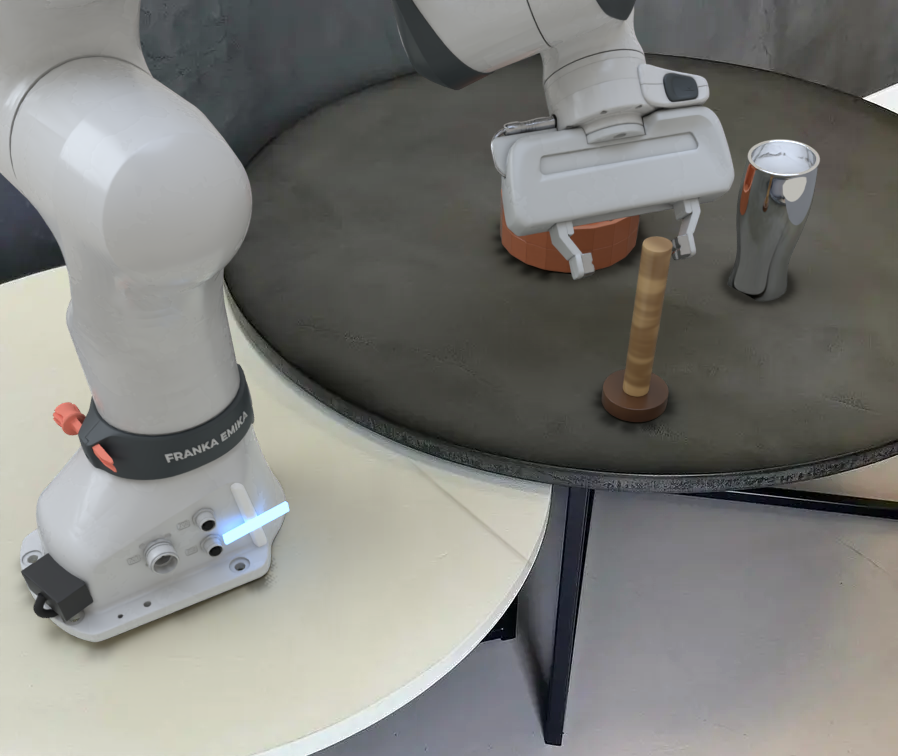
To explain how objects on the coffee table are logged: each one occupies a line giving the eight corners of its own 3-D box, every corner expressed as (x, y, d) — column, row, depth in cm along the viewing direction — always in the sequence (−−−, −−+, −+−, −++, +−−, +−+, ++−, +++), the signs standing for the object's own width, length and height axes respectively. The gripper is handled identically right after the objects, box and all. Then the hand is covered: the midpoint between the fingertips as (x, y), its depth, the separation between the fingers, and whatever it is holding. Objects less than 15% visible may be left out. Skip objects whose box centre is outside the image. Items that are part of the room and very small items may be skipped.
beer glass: (791, 311, 101) (824, 178, 90) (721, 306, 102) (745, 174, 91) (789, 271, 105) (820, 139, 94) (722, 267, 106) (745, 136, 95)
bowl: (566, 295, 104) (570, 245, 99) (472, 238, 112) (472, 189, 108) (664, 244, 110) (672, 194, 106) (568, 193, 118) (572, 145, 114)
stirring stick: (635, 431, 89) (660, 272, 77) (588, 399, 92) (605, 242, 80) (680, 403, 91) (710, 245, 79) (632, 372, 95) (655, 216, 83)
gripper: (494, 111, 79) (531, 280, 80) (724, 75, 83) (758, 237, 84) (477, 140, 86) (511, 297, 86) (692, 106, 89) (723, 256, 90)
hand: (635, 267), depth 85 cm, fingers open, 8 cm apart
